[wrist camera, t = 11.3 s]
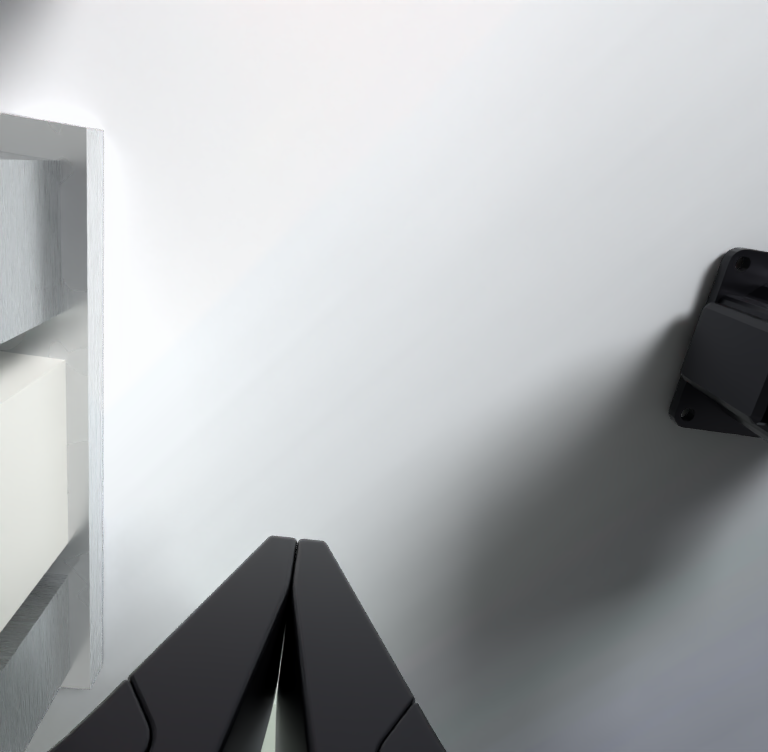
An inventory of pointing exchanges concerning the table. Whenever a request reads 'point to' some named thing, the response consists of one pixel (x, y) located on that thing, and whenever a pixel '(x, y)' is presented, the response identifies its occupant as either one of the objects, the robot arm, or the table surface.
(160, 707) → the robot arm
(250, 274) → the table surface
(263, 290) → the table surface
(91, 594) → the rail
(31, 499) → the block
